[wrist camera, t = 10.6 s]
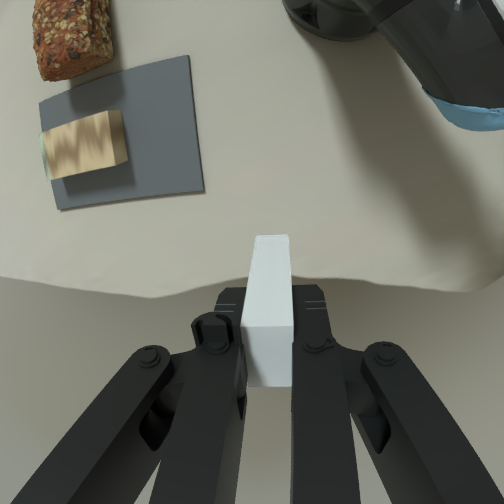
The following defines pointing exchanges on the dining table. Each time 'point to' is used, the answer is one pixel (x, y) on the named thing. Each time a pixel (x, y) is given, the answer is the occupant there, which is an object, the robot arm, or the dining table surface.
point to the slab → (84, 145)
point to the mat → (134, 133)
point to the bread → (71, 37)
